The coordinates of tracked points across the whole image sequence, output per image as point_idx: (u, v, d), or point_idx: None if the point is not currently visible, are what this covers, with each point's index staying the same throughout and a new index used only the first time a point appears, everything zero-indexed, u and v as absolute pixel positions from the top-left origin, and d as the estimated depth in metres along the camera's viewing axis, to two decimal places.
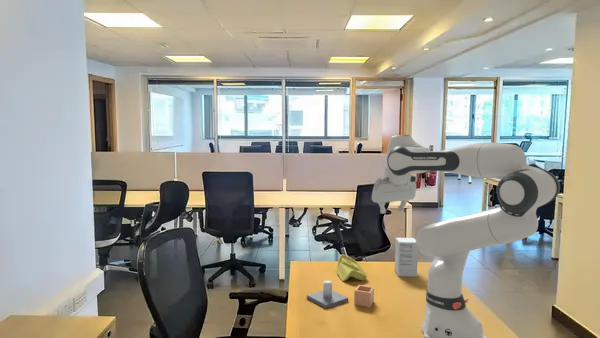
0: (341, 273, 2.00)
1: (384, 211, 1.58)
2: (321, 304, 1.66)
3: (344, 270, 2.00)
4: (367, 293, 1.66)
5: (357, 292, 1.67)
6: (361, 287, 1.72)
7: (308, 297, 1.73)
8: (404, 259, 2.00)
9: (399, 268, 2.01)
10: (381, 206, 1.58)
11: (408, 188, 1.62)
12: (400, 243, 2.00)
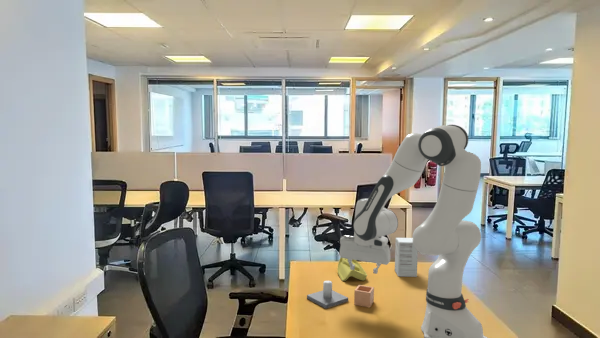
0: (341, 273, 2.01)
1: (351, 267, 1.70)
2: (321, 304, 1.66)
3: (344, 270, 2.00)
4: (367, 293, 1.66)
5: (357, 292, 1.67)
6: (361, 287, 1.72)
7: (308, 297, 1.73)
8: (404, 259, 2.00)
9: (399, 268, 2.01)
10: None
11: (378, 252, 1.64)
12: (400, 243, 2.00)
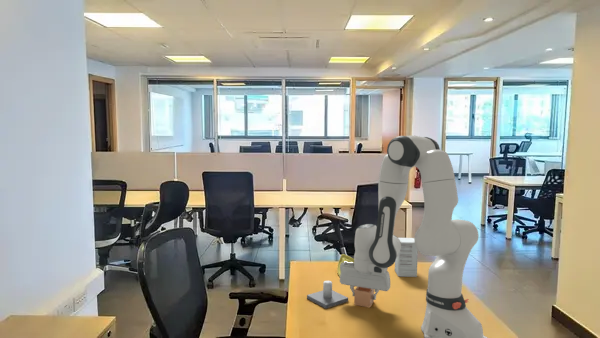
0: None
1: (353, 294, 1.70)
2: (321, 304, 1.66)
3: None
4: (367, 293, 1.66)
5: (357, 292, 1.67)
6: (361, 287, 1.72)
7: (308, 297, 1.73)
8: (404, 259, 2.00)
9: (399, 268, 2.01)
10: None
11: (378, 278, 1.65)
12: None
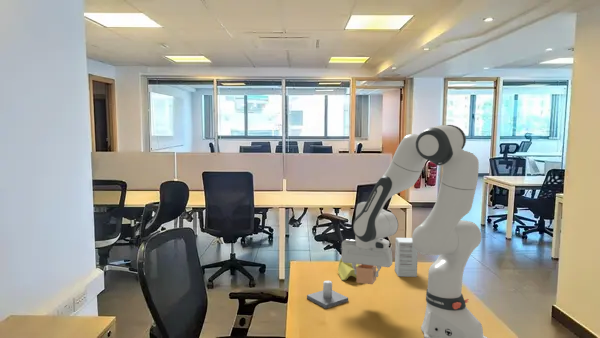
0: (342, 272, 2.01)
1: (355, 272, 1.69)
2: (321, 304, 1.66)
3: (345, 269, 2.00)
4: (369, 270, 1.64)
5: (359, 269, 1.66)
6: (363, 265, 1.71)
7: (308, 297, 1.73)
8: (404, 259, 2.00)
9: (399, 268, 2.01)
10: None
11: (380, 254, 1.64)
12: (400, 243, 2.00)
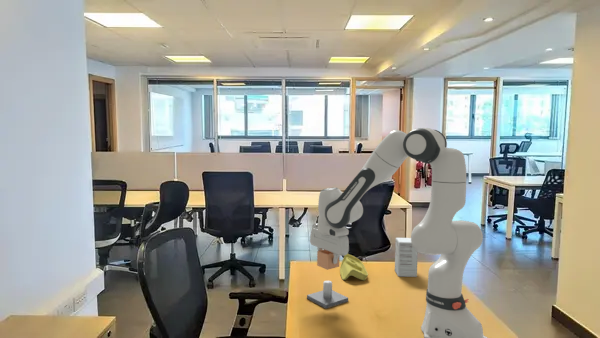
0: (343, 272, 2.02)
1: None
2: (321, 304, 1.66)
3: (346, 269, 2.01)
4: (325, 255, 1.67)
5: (319, 253, 1.71)
6: None
7: (308, 297, 1.73)
8: (404, 259, 2.00)
9: (399, 268, 2.01)
10: None
11: (335, 242, 1.65)
12: (400, 243, 2.00)
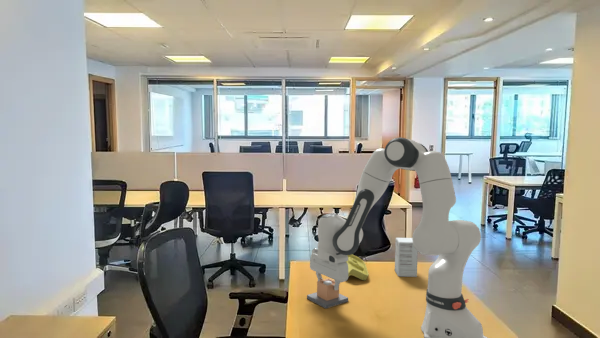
0: None
1: (318, 280, 1.75)
2: (321, 304, 1.66)
3: None
4: (325, 286, 1.68)
5: (319, 284, 1.72)
6: None
7: (308, 297, 1.73)
8: (404, 259, 2.00)
9: (399, 268, 2.01)
10: None
11: (335, 268, 1.66)
12: (400, 243, 2.00)
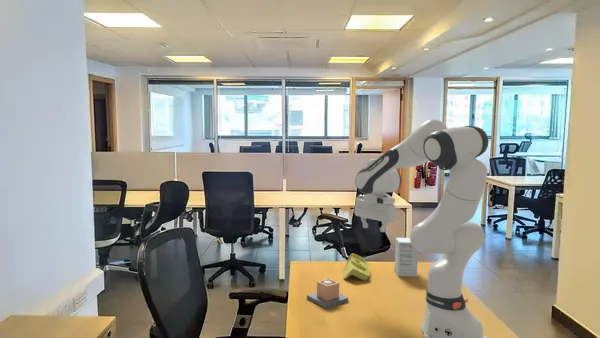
0: (346, 271, 2.03)
1: (363, 225, 1.81)
2: (321, 304, 1.66)
3: (348, 268, 2.02)
4: (325, 286, 1.68)
5: (319, 284, 1.72)
6: None
7: (308, 297, 1.73)
8: (404, 259, 2.00)
9: (399, 268, 2.01)
10: None
11: (382, 210, 1.71)
12: (400, 243, 2.00)
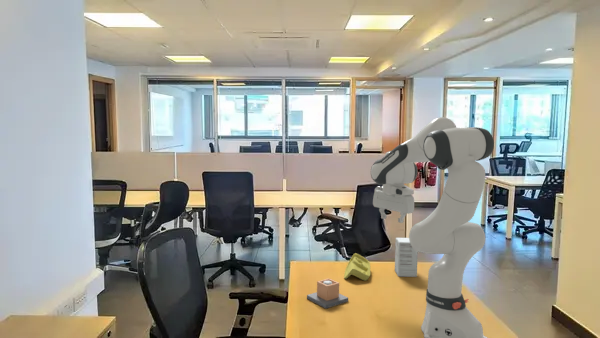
0: (347, 271, 2.03)
1: (382, 216, 1.84)
2: (321, 304, 1.66)
3: (350, 268, 2.02)
4: (325, 286, 1.68)
5: (319, 284, 1.72)
6: None
7: (308, 297, 1.73)
8: (404, 259, 2.00)
9: (399, 268, 2.01)
10: None
11: (401, 201, 1.74)
12: (400, 243, 2.00)
